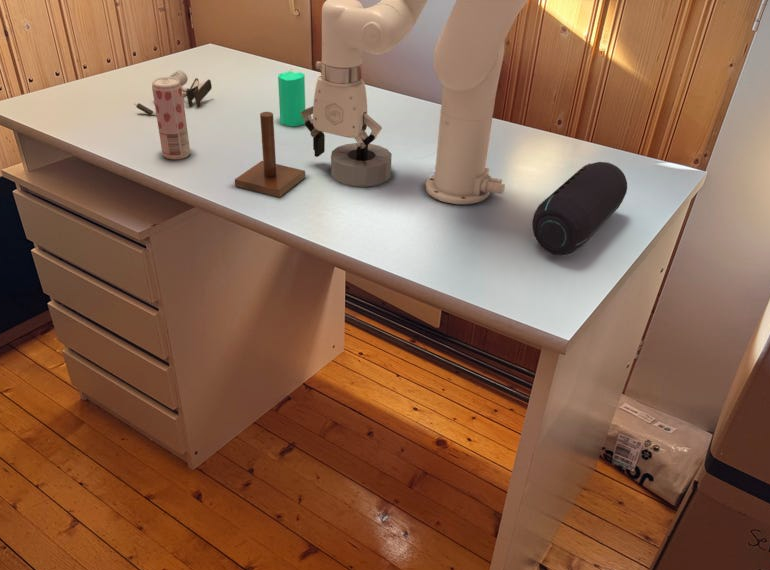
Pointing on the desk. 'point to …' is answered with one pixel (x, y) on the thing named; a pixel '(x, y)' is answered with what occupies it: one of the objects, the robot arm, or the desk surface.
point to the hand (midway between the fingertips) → (340, 159)
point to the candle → (291, 98)
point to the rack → (269, 167)
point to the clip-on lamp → (195, 91)
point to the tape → (361, 165)
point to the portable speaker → (579, 208)
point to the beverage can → (171, 117)
